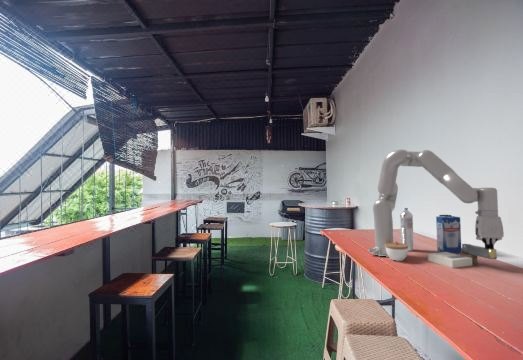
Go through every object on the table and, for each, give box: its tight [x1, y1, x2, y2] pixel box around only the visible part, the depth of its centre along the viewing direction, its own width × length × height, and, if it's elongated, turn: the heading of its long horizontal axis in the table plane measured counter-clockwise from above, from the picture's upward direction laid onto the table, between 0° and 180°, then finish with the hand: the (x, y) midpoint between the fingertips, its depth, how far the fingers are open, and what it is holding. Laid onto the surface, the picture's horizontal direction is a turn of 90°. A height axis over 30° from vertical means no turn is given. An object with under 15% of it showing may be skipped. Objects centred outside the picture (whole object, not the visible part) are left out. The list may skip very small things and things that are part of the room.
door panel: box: [427, 252, 473, 269], centre depth 144 cm, size 12×14×4 cm
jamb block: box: [458, 251, 478, 266], centre depth 143 cm, size 4×6×5 cm, turn 15°
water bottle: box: [399, 207, 415, 252], centre depth 173 cm, size 7×7×25 cm
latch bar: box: [461, 243, 498, 260], centre depth 137 cm, size 16×4×4 cm, turn 15°
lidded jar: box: [386, 241, 409, 262], centre depth 152 cm, size 11×11×9 cm
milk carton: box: [435, 215, 462, 254], centre depth 166 cm, size 10×6×20 cm, turn 88°
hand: (489, 252), depth 137 cm, fingers closed
